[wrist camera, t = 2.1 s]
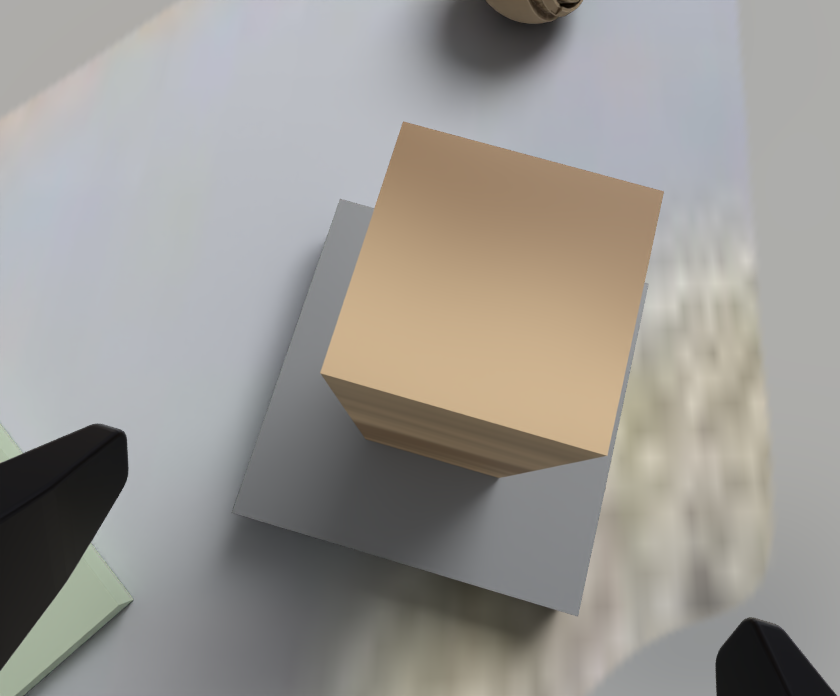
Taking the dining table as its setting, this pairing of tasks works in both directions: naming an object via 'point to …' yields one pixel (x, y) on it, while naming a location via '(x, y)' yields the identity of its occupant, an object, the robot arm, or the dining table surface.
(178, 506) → the dining table surface
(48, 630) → the sage mat
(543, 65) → the dining table surface
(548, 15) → the door knob
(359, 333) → the oak block
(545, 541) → the grey block
